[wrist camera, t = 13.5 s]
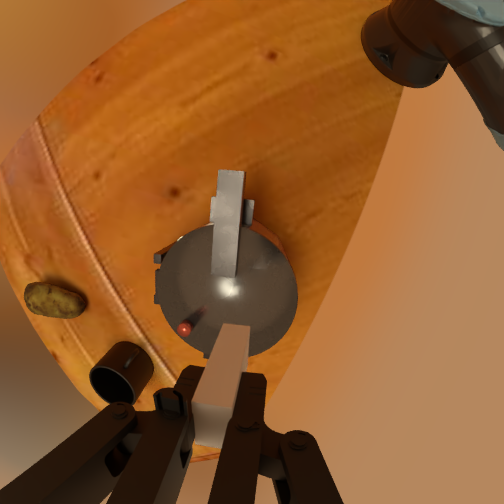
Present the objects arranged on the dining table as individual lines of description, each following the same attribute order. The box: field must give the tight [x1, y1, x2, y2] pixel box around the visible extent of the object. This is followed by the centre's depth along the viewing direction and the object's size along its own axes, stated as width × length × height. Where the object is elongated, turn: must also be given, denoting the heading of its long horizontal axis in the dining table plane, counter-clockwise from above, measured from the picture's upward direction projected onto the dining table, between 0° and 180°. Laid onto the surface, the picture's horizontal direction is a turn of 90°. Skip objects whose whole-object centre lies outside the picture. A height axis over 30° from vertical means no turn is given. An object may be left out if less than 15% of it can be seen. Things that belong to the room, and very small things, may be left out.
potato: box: [24, 282, 85, 319], centre depth 44 cm, size 8×13×8 cm, turn 60°
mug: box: [89, 342, 153, 406], centre depth 45 cm, size 9×12×9 cm
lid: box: [155, 170, 298, 357], centre depth 32 cm, size 17×22×3 cm
